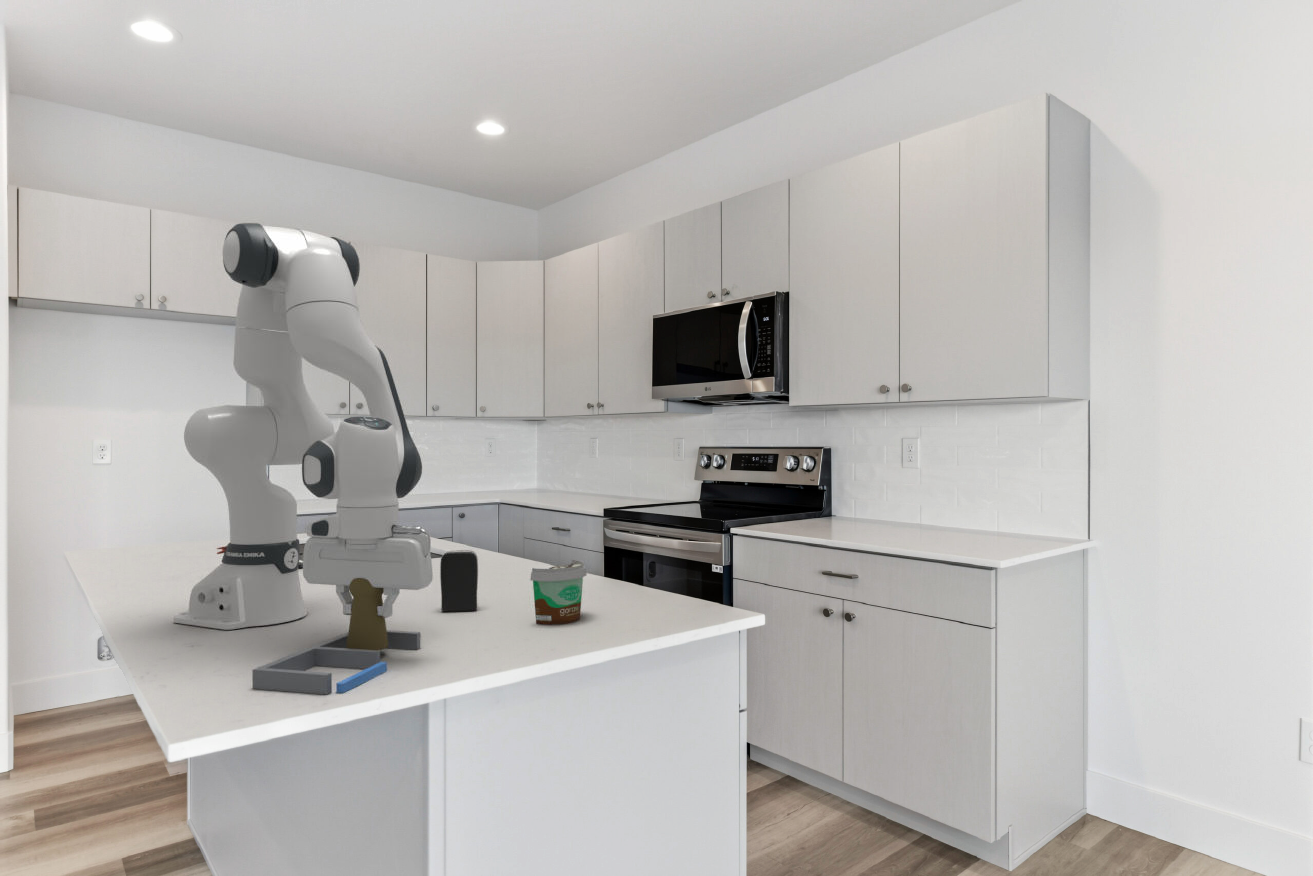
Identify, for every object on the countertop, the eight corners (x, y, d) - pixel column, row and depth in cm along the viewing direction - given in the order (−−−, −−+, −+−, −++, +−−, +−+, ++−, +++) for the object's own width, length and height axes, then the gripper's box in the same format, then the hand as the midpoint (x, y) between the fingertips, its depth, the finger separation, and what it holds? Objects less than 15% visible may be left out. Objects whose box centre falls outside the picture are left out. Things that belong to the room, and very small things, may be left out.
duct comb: (252, 688, 105) (252, 669, 105) (357, 644, 127) (357, 628, 127) (338, 695, 102) (338, 676, 102) (430, 648, 124) (430, 632, 124)
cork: (374, 653, 116) (374, 578, 116) (337, 650, 118) (337, 576, 117) (396, 642, 122) (396, 571, 122) (360, 640, 124) (360, 569, 123)
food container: (558, 630, 136) (557, 571, 136) (530, 625, 139) (530, 568, 139) (600, 616, 146) (600, 561, 146) (574, 612, 149) (573, 559, 149)
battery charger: (479, 607, 154) (479, 548, 154) (477, 611, 150) (477, 551, 150) (442, 608, 153) (442, 549, 153) (440, 613, 149) (439, 552, 149)
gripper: (440, 524, 120) (440, 615, 121) (323, 519, 125) (323, 607, 125) (418, 529, 114) (418, 625, 114) (296, 524, 119) (296, 616, 119)
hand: (367, 615), depth 120 cm, fingers closed on cork, 4 cm apart
